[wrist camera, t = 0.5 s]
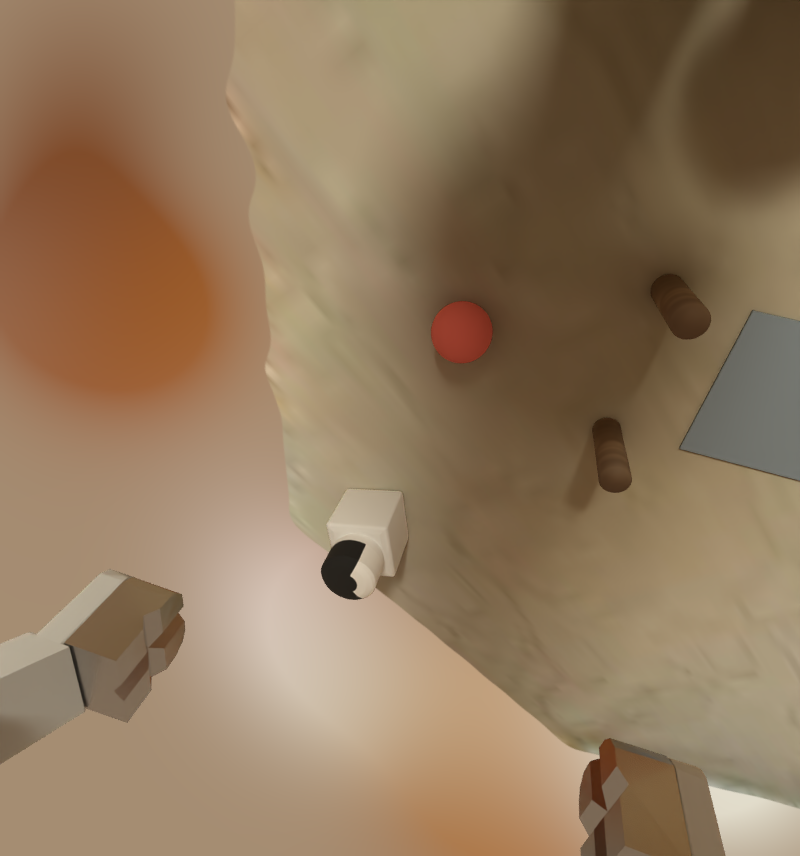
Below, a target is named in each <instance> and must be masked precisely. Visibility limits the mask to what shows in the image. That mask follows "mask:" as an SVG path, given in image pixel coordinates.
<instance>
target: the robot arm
mask: <svg viewBox="0 0 800 856" xmlns="http://www.w3.org/2000/svg"><path fill="white" fill-rule="evenodd" d="M182 607H183V598H182V594H180V593H177V592H174V591H171V590H168V589H165V588H163V587H160V586H157V585H154V584H151V583H148V582H145V581H142V580H140V579H137V578H135V577H132V576H129V575H126V574H123V573H120V572H117V571H114V570H111V569H109V570H107V571H104V572H102V573H100V574H99V575H98V576H97V577H96V578H95V579H94V580H93V581H91V583H90V584H89V585H87V586H86V587H85V588H84V589H83V590H82V591H81V592H80V593H79V594H78V595H77V596H76V597H75V598H74V599H73V600H72V601H71V602H70V603H68V604H67V605H66V606H65V607H64V608H63V609H62V610H61V611H60V612H59V613H58V614H57V615H56V616H55V617H54V618H53V619H52V620H51V621H50V622H49V623H48V624H46V625H45V626H44V627H43V628H42V629H41V630H40V631H39V632H38V633H37V634H35V633H32V632H28V633H25V634H23V635H20V636H18V637H16V638H13V639H11V640H8V641H6V642H4V643H1V644H0V764H1V763H3V762H5V761H6V760H8V759H9V758H11V757H13V756H14V755H16V754H18V753H19V752H21V751H22V750H24V749H26V748H27V747H29V746H30V745H32V744H33V743H35V742H37V741H38V740H40V739H41V738H43V737H45V736H46V735H48V734H50V733H51V732H52V731H54V730H56V729H57V728H59V727H61V726H62V725H64V724H66V723H67V722H69V721H71V720H72V719H74V718H75V717H77V716H79V715H80V714H82V713H83V712H85V708H87V709H89V710H92V711H95V712H98V713H101V714H104V715H107V716H110V717H112V718H115V719H118V720H121V721H124V722H128V721H129V720H130V718H131V717H132V716H133V714H134V713H135V712H136V710H137V709H138V708H139V706H140V705H141V703H142V702H143V701H144V699H145V698H146V697H147V695H148V694H149V693H150V691H151V677H152V676H154V675H156V674H158V673H160V672H162V671H164V670H166V669H167V668H168V666H169V665H170V664H171V662H172V661H173V659H174V658H175V656H176V654H177V652H178V650H179V648H180V646H181V644H182V642H183V638H184V633H185V621H184V620H183V618H182V617H181V616H180V614H179V613H178V612H179V611H180V610H181V608H182ZM599 754H600V759H596V760H593V761H590V762H589V764H588V766H587V768H586V769H585V771H584V774H583V778H582V782H581V786H580V795H579V818H580V820H581V822H582V824H583V826H584V827H585V829H586V831H587V833H588V835H589V837H588V839H587V840H586V841H585V843H584V844H583V846H582V847H581V856H725V852H724V848H723V844H722V840H721V836H720V832H719V828H718V823H717V820H716V815H715V812H714V808H713V803H712V799H711V795H710V791H709V787H708V783H707V779H706V776H705V775H704V773H703V771H702V770H701V769H699V768H698V767H696V766H693V765H690V764H686V763H683V762H680V761H677V760H674V759H671V758H668V757H667V756H665V755H662V754H658V753H655V752H652V751H649V750H646V749H643V748H640V747H636V746H633V745H630V744H627V743H624V742H621V741H618V740H614V739H611V738H608V739H605V740H604V741H603V743H602V744H601V746H600V747H599Z"/></svg>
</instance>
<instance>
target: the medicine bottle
mask: <svg viewBox="0 0 800 856" xmlns="http://www.w3.org/2000/svg"><path fill="white" fill-rule="evenodd" d="M327 530H328V534H329V538H330V543H331V547H332V548H331V550H330V552H329V554H328V556H327V558H326V560H325V561H324V563H323V565H322V568H321V574H322V578H323V580H324V582H325V584H326V585H327V587H328V588H329V589H330V590H331V591H332V592H334V593H335V594H337V595H339V596H341V597H343V598H346V599H353V600H357V599H362V598H365V597H368V596H369V595H371V594H372V593H373V591H374V589H375V587H376V584H377V582H378V579H379V577H380V576H389V577H394V576H395V574H396V571H397V568H398V566H399V563H400V560H401V557H402V555H403V552H404V549H405V546H406V543H407V541H408V538H409V536H408V528H407V521H406V514H405V507H404V500H403V493H402V492H401V491H387V490H367V489H347V490H346V491H345V493H344V495H343V497H342V498H341V500H340V502H339V503H338V505H337V507H336V509H335V510H334V512H333V514H332V515H331V517H330V519H329V521H328V522H327Z"/></svg>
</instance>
